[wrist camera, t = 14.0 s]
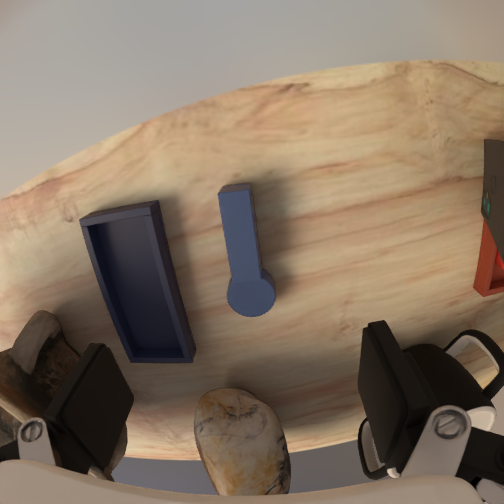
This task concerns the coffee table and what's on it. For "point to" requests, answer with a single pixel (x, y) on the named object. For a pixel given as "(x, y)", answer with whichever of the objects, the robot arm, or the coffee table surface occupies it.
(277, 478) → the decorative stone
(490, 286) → the red tray
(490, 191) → the smartphone
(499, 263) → the red spoon
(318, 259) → the coffee table surface
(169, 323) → the blue tray
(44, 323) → the bowl
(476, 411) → the mug
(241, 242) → the blue spoon
